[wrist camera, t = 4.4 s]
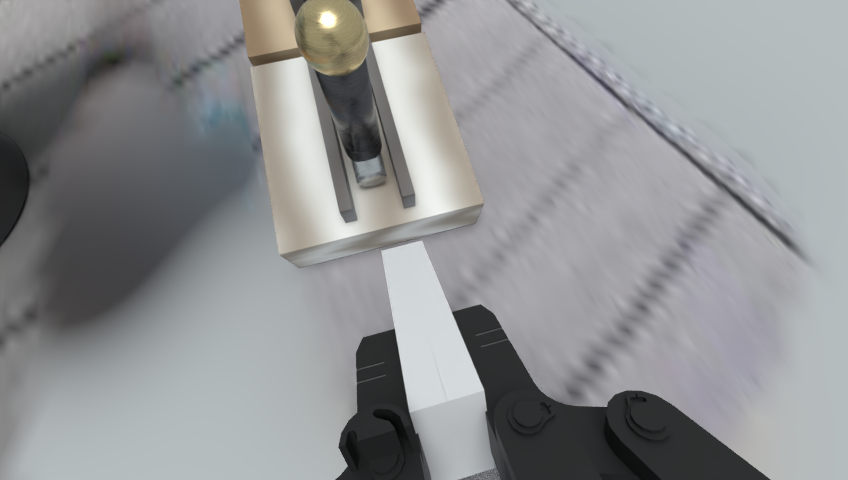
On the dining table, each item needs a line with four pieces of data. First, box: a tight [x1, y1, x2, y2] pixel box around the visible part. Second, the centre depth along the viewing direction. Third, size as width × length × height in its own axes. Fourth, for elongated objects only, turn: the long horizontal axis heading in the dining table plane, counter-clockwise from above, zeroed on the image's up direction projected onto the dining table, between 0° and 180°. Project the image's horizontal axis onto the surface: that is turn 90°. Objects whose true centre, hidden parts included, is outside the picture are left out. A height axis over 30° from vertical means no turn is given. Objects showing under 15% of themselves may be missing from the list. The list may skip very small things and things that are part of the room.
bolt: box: [294, 0, 387, 187], centre depth 20 cm, size 3×12×12 cm, turn 15°
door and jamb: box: [239, 0, 484, 268], centre depth 26 cm, size 14×25×8 cm, turn 15°
